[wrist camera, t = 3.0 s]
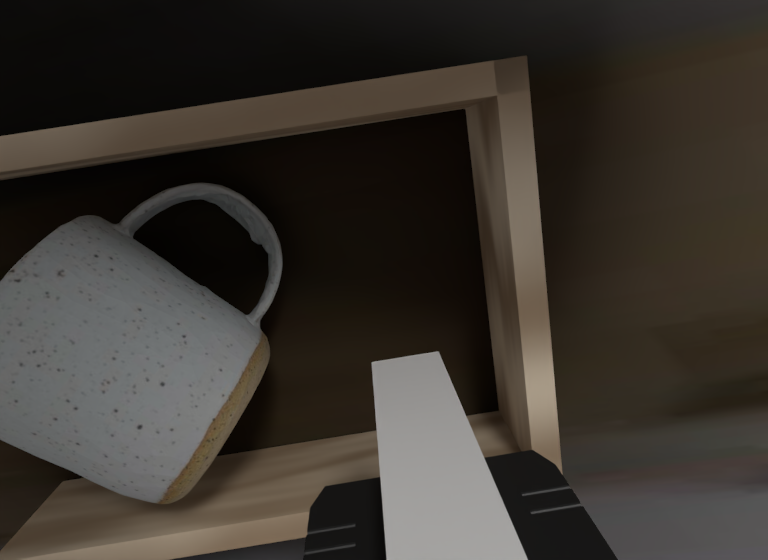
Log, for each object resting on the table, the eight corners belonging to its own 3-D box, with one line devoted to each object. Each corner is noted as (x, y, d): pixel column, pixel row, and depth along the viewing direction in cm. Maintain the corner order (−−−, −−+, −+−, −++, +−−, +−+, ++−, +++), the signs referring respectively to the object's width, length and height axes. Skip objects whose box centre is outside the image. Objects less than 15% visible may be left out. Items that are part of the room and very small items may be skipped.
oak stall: (-42, 159, 21) (-163, 161, 16) (487, 77, 21) (526, 55, 16) (69, 500, 24) (-3, 587, 20) (523, 427, 25) (564, 494, 20)
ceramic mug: (205, 449, 24) (139, 578, 17) (31, 354, 23) (-125, 448, 15) (336, 250, 23) (329, 295, 15) (158, 136, 21) (54, 122, 14)
